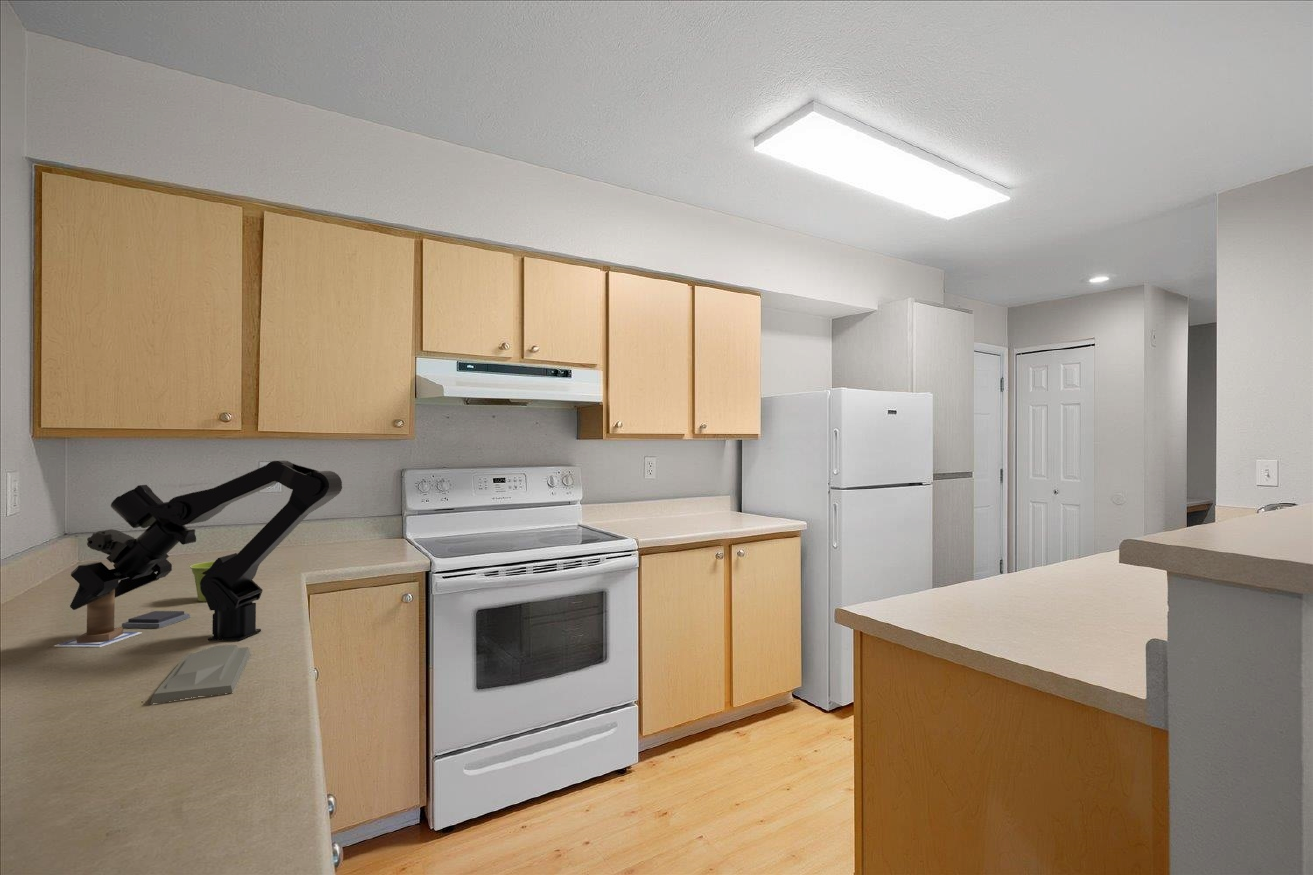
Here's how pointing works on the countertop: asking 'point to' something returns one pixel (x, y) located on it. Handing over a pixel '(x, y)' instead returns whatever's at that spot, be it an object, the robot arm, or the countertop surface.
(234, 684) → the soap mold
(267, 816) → the countertop surface
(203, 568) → the plant pot
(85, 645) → the print card
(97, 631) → the stamp
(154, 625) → the ink pad
